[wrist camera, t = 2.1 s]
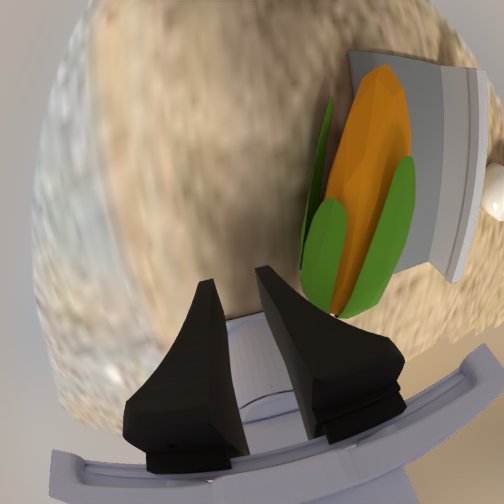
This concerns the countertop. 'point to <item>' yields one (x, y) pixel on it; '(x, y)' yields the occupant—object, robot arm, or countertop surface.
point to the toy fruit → (360, 201)
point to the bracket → (439, 155)
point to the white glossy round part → (493, 191)
